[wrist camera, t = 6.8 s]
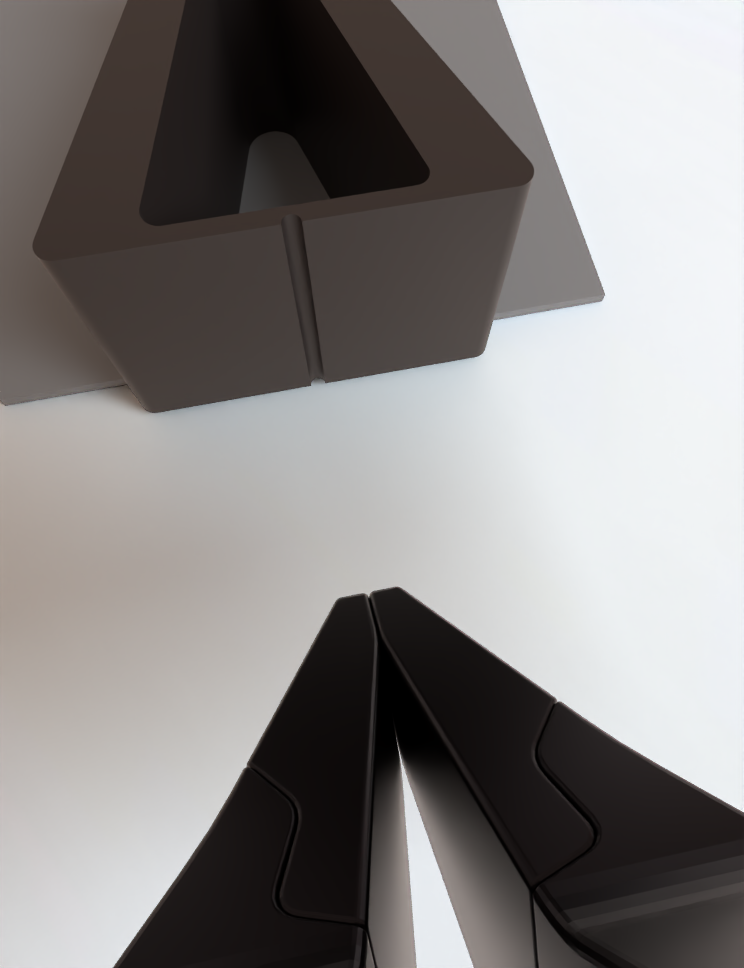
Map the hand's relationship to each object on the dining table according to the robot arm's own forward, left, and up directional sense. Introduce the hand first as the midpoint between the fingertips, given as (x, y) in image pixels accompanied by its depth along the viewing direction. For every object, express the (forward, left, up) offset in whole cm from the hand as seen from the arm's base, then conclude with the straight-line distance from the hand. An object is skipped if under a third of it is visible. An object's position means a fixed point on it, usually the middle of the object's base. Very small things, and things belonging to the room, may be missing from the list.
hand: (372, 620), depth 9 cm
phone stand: (+5, +5, -4) cm, 8 cm away
